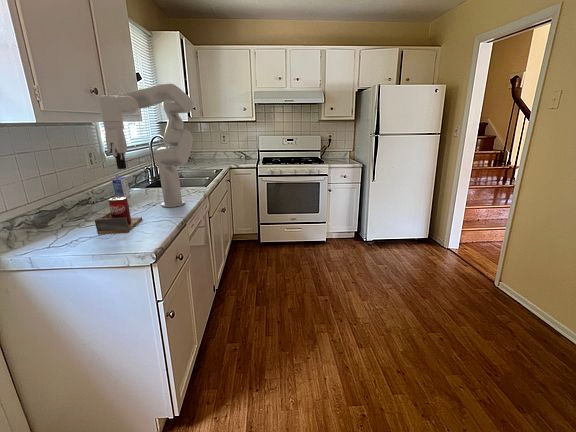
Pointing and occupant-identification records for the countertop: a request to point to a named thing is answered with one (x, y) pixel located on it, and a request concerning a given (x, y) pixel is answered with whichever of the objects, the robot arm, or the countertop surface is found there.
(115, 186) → the ink cartridge box
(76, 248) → the countertop surface
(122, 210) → the soda can
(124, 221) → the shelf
